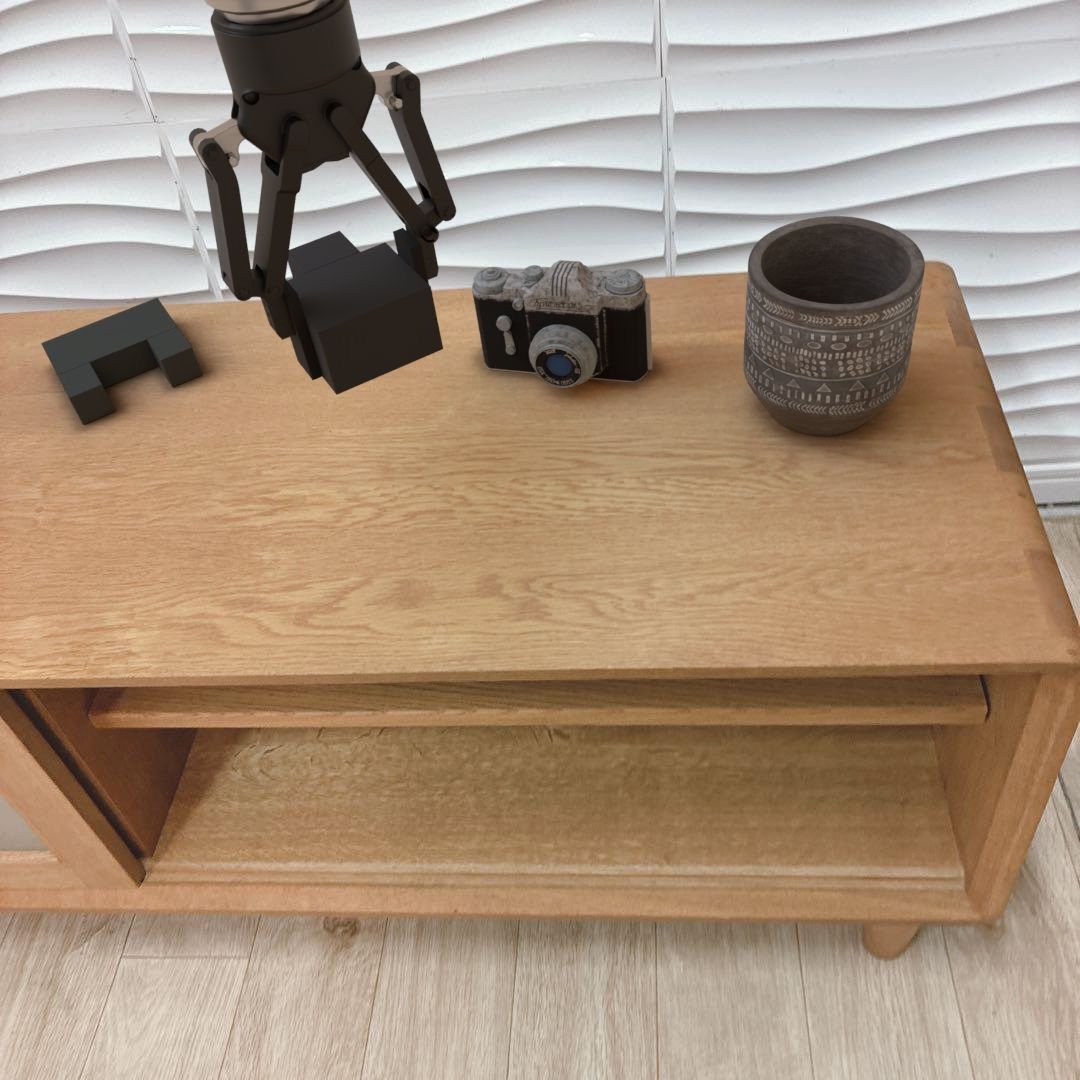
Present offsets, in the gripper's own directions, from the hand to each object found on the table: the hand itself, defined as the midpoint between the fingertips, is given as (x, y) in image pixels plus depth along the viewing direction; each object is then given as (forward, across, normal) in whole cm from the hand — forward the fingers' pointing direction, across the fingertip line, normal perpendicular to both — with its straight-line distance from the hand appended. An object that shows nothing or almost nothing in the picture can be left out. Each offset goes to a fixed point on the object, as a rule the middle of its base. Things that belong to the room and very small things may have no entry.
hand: (368, 343), depth 74 cm
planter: (+13, -31, +12) cm, 36 cm away
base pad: (+13, +14, -29) cm, 35 cm away
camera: (+13, -17, -4) cm, 22 cm away
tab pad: (0, 0, -2) cm, 2 cm away
